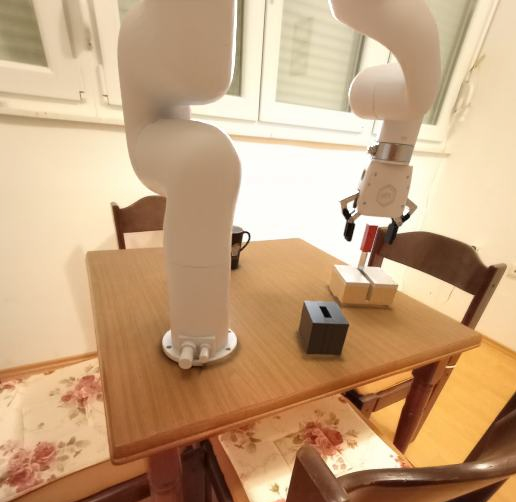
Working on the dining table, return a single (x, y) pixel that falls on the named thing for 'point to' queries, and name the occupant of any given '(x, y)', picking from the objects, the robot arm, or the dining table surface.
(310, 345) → the knife block
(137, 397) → the dining table surface
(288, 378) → the dining table surface
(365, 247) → the knife
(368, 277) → the beige rectangular box
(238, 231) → the coffee mug
